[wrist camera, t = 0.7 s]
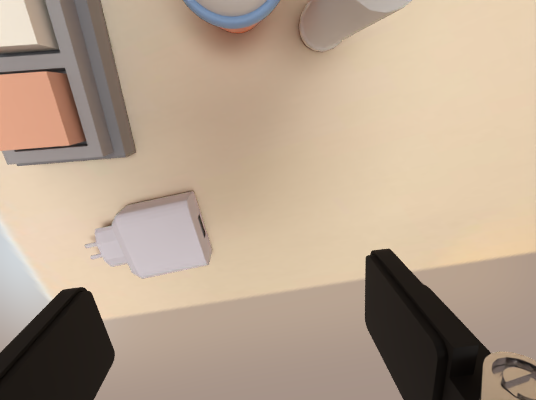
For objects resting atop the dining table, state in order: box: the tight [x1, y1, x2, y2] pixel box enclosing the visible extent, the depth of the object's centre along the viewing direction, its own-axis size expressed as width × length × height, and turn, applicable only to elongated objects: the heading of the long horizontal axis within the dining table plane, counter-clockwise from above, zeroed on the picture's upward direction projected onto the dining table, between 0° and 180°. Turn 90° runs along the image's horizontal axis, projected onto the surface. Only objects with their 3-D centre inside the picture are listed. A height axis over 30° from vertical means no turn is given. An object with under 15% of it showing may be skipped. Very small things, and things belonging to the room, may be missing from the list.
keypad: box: [0, 0, 136, 166], centre depth 27 cm, size 28×12×6 cm, turn 4°
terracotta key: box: [0, 71, 86, 151], centre depth 27 cm, size 6×6×3 cm
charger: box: [85, 191, 212, 279], centre depth 36 cm, size 5×9×15 cm
